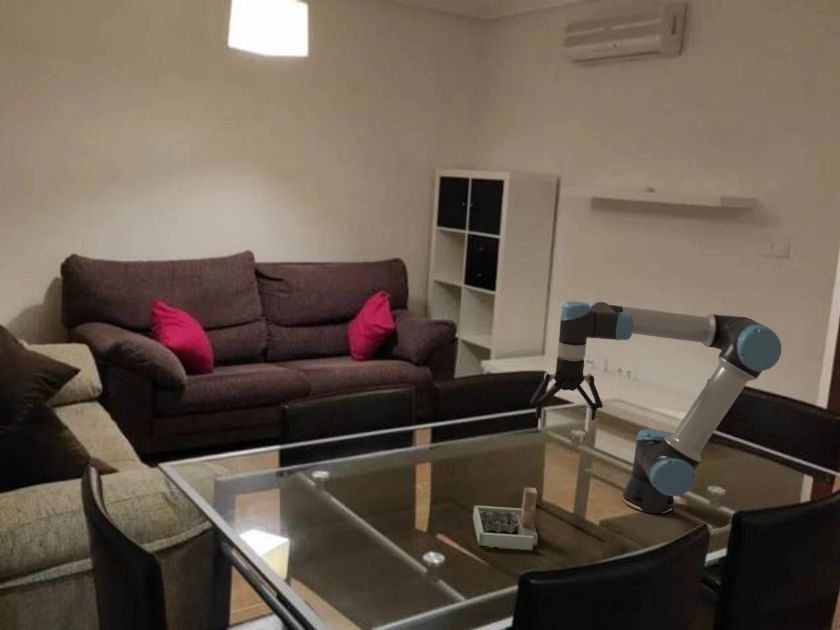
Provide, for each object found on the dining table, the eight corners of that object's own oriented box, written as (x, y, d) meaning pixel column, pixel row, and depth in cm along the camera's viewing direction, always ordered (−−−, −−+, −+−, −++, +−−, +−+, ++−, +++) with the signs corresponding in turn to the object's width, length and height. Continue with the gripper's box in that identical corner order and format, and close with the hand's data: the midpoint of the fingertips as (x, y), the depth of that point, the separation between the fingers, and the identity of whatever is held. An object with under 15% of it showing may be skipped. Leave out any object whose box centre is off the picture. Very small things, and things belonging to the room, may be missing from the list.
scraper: (528, 524, 217) (534, 481, 214) (536, 546, 205) (542, 500, 203) (514, 524, 217) (519, 480, 214) (521, 545, 205) (527, 499, 202)
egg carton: (478, 532, 210) (479, 518, 210) (476, 519, 218) (477, 506, 217) (517, 535, 211) (519, 521, 210) (514, 522, 218) (516, 509, 217)
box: (522, 520, 219) (523, 508, 218) (532, 550, 203) (533, 537, 202) (472, 516, 219) (474, 505, 218) (478, 546, 202) (480, 534, 201)
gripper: (610, 355, 221) (602, 426, 225) (524, 352, 219) (517, 424, 223) (618, 362, 214) (610, 435, 218) (529, 359, 212) (523, 433, 216)
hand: (563, 430), depth 221 cm, fingers open, 13 cm apart
